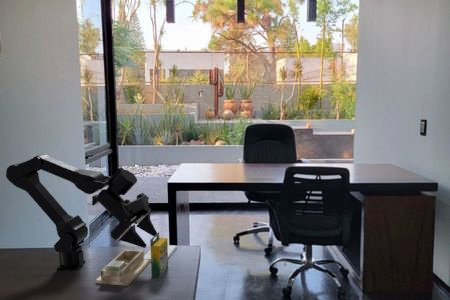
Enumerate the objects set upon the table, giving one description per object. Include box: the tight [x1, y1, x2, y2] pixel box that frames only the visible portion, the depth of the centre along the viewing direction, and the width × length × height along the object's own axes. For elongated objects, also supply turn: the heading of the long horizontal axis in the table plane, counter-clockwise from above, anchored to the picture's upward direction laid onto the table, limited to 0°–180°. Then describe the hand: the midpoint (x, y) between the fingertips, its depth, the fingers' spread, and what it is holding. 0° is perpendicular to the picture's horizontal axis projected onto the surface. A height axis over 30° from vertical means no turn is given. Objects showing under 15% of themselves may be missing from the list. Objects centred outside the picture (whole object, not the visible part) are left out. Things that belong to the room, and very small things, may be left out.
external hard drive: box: [144, 244, 178, 263], centre depth 139 cm, size 2×8×12 cm
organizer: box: [95, 249, 150, 287], centre depth 125 cm, size 10×16×5 cm, turn 169°
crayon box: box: [149, 231, 169, 278], centre depth 125 cm, size 7×3×12 cm, turn 168°
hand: (151, 241), depth 125 cm, fingers open, 9 cm apart
